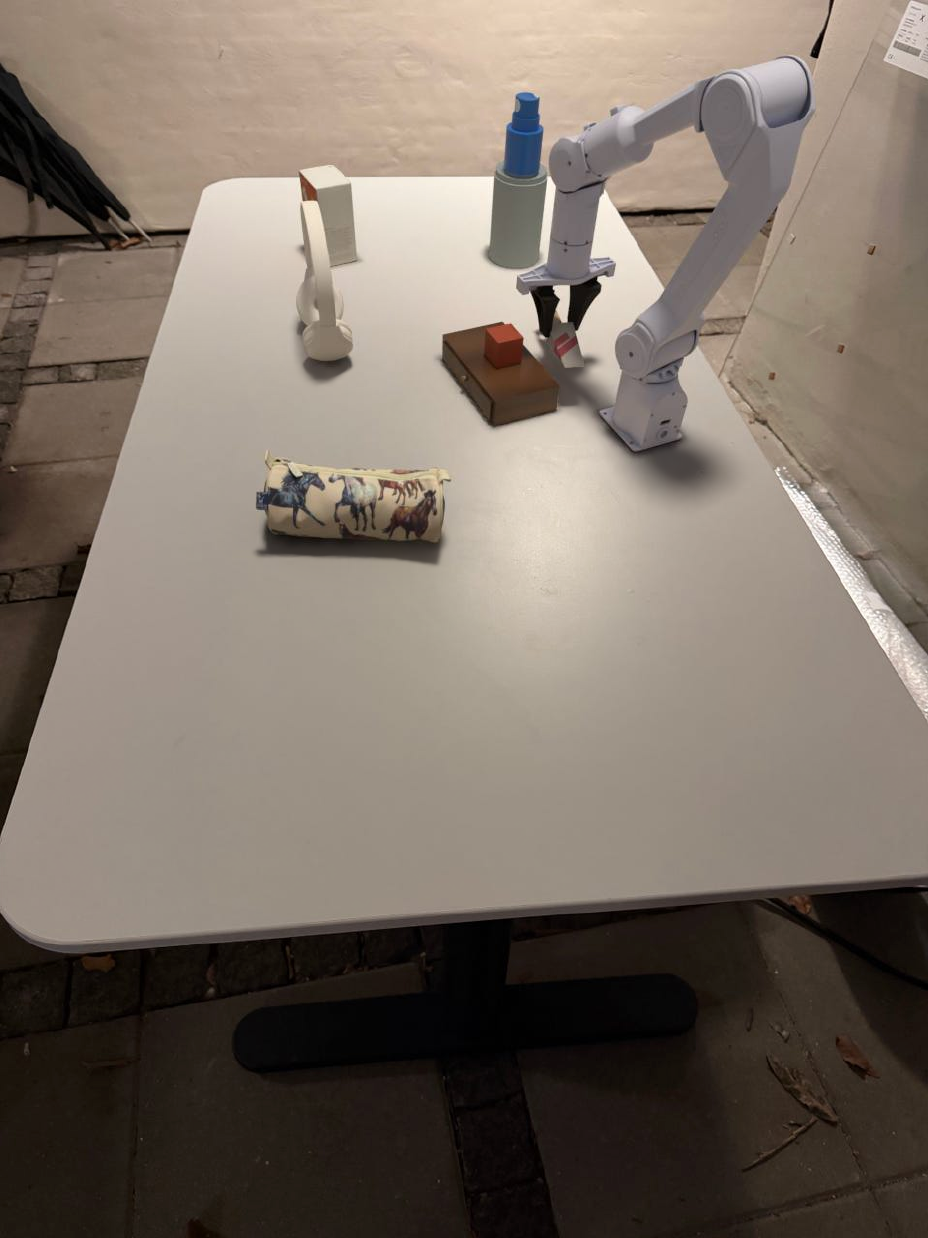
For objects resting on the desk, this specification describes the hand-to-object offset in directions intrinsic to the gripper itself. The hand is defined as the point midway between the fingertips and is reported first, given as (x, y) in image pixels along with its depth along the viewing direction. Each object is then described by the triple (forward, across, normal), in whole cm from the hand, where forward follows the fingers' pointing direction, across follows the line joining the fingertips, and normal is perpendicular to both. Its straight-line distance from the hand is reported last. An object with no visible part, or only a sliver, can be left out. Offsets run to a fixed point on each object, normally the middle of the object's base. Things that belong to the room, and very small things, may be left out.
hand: (558, 330), depth 113 cm
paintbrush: (+2, 0, 0) cm, 2 cm away
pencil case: (+6, +39, +22) cm, 45 cm away
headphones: (+6, +30, -18) cm, 36 cm away
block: (+2, +10, +1) cm, 10 cm away
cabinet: (+6, +10, +1) cm, 12 cm away
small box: (+6, +20, -45) cm, 50 cm away
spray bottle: (+6, -10, -33) cm, 35 cm away
